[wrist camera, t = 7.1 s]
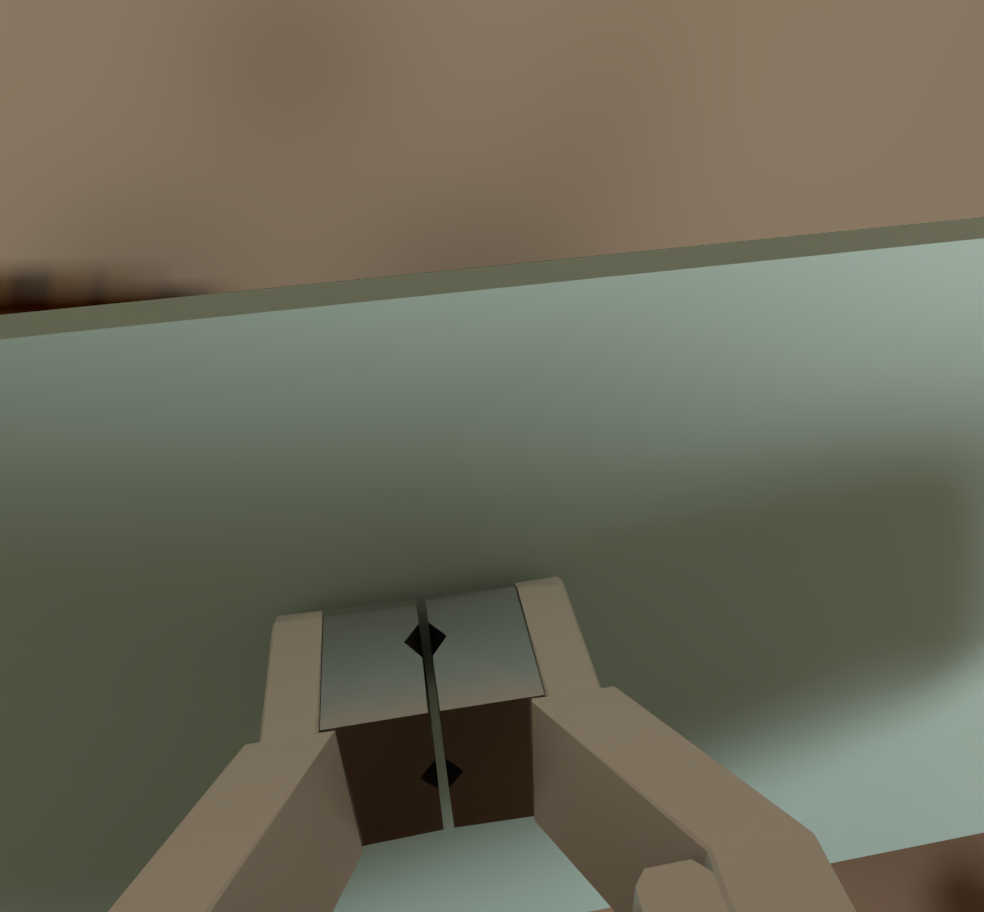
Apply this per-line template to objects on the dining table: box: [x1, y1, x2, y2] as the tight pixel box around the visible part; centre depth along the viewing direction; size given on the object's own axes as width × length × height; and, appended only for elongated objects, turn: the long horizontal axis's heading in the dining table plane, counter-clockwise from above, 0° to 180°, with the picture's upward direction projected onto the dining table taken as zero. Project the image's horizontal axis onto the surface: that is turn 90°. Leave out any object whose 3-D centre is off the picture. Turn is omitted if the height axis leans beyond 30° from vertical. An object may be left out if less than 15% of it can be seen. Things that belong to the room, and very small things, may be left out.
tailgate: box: [0, 217, 984, 912], centre depth 10 cm, size 20×2×9 cm
